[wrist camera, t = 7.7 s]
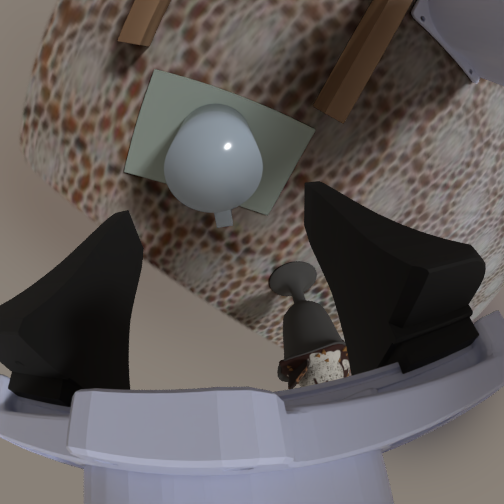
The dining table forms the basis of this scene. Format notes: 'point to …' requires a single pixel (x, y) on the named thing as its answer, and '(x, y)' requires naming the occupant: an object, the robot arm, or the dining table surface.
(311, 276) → the sundae
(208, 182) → the grey rounded cylinder
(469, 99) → the dining table surface
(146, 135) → the mat
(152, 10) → the wooden frame
